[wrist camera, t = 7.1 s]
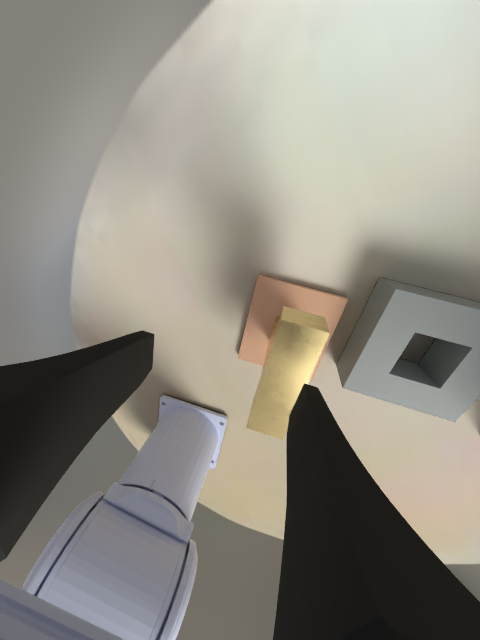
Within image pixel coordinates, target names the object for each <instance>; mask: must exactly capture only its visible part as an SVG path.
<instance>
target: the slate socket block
mask: <svg viewBox="0 0 480 640" xmlns="http://www.w3.org/2000/svg"><path fill="white" fill-rule="evenodd" d="M415 332H416V333H420V334H423V335H427V336H431V337H434V338H436V340H435V341H434V342H433V344H432V345H431V347H430V348H429V350H428V351H427V353H426V354H425V355H424V357H423V358H422V360H421V361H420V363H419V364H418V363H415V362H411V361H408V360H404V359H401V358H399V357H400V356H401V354H402V352H403V351H404V349H405V348H406V346H407V344H408V343H409V341H410V340H411V338H412V337H413V335H414V333H415ZM336 366H337V369H338V373H339V376H340V380H341V384H342V387H343V388H344V389H348V390H351V391H354V392H357V393H361V394H364V395H367V396H370V397H374V398H377V399H380V400H384V401H387V402H390V403H393V404H397V405H400V406H403V407H406V408H410V409H413V410H416V411H419V412H423V413H426V414H429V415H433V416H436V417H439V418H442V419H446V420H449V421H452V422H456V421H457V420H458V419H459V418H460V416H461V415H462V414H463V413H464V412H465V411H466V410H467V409H468V408H469V407H470V405H471V404H472V403H473V402H474V401H475V400H476V399H477V398H478V397H479V396H480V302H477V301H473V300H469V299H465V298H461V297H457V296H453V295H449V294H445V293H441V292H437V291H433V290H428V289H424V288H420V287H416V286H412V285H408V284H404V283H400V282H396V281H392V280H388V279H384V278H380V277H379V279H378V281H377V284H376V286H375V288H374V290H373V292H372V294H371V296H370V298H369V300H368V302H367V304H366V306H365V308H364V310H363V312H362V314H361V316H360V318H359V320H358V322H357V324H356V326H355V328H354V330H353V332H352V334H351V336H350V338H349V340H348V342H347V344H346V346H345V349H344V351H343V353H342V355H341V357H340V359H339V361H338V363H337V365H336Z"/></svg>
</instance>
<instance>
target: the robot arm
mask: <svg viewBox="0 0 480 640" xmlns="http://www.w3.org/2000/svg"><path fill="white" fill-rule="evenodd" d="M153 347H154V334H152V333H148V332H145V331H139V332H135V333H132V334H129V335H125V336H122V337H119V338H116V339H113V340H110V341H107V342H104V343H101V344H97V345H94V346H91V347H87V348H84V349H80V350H76V351H73V352H70V353H66V354H62V355H58V356H53V357H49V358H44V359H40V360H35V361H30V362H24V363H18V364H12V365H6V366H0V562H1V561H2V560H4V559H5V558H7V556H8V555H9V553H10V551H11V550H12V548H13V547H14V545H15V544H16V542H17V541H18V539H19V538H20V536H21V535H22V533H23V532H24V530H25V529H26V527H27V526H28V524H29V523H30V521H31V520H32V518H33V517H34V516H35V514H36V513H37V511H38V510H39V508H40V507H41V505H42V504H43V502H44V501H45V500H46V498H47V497H48V496H49V494H50V493H51V491H52V490H53V489H54V487H55V486H56V484H57V483H58V482H59V480H60V479H61V477H62V476H63V475H64V473H65V472H66V471H67V469H68V468H69V467H70V465H71V464H72V463H73V461H74V460H75V459H76V457H77V456H78V455H79V454H80V452H81V451H82V450H83V448H84V447H85V446H86V445H87V443H88V442H89V441H90V440H91V438H92V437H93V436H94V434H95V433H96V432H97V431H98V430H99V429H100V427H101V426H102V425H103V424H104V423H105V422H106V421H107V420H108V419H109V418H110V417H111V416H112V415H113V414H114V413H115V411H116V410H117V409H118V408H119V407H120V406H121V405H122V404H123V403H124V402H125V401H126V400H127V399H128V398H129V397H130V396H131V394H132V393H133V392H134V391H135V390H136V389H137V388H138V387H139V386H140V384H141V383H142V382H143V380H144V379H145V378H146V376H147V375H148V374H149V372H150V371H151V369H152V364H153ZM227 420H228V419H227V417H226V416H225V415H222V414H219V413H217V412H214V411H211V410H208V409H205V408H202V407H199V406H196V405H193V404H190V403H187V402H184V401H181V400H178V399H175V398H172V397H169V396H166V395H162V396H161V398H160V405H159V422H158V424H157V426H156V427H155V429H154V430H153V432H152V433H151V434H150V436H149V437H148V439H147V440H146V442H145V443H144V445H143V446H142V448H141V449H140V451H139V452H138V454H137V455H136V457H135V458H134V460H133V461H132V463H131V464H130V466H129V467H128V469H127V470H126V472H125V473H124V475H123V476H122V478H121V479H120V481H119V482H118V483H115V482H114V483H113V484H112V485H111V487H110V488H109V490H108V491H107V493H106V494H104V493H102V492H100V491H99V492H96V493H95V494H93V495H91V496H89V497H87V498H85V499H84V500H83V501H82V502H81V503H80V504H79V505H78V506H77V507H76V508H75V509H74V510H73V512H72V513H71V514H70V515H69V516H68V518H67V519H66V520H65V521H64V523H63V524H62V526H61V527H60V528H59V529H58V531H57V532H56V533H55V535H54V536H53V538H52V539H51V540H50V542H49V543H48V545H47V546H46V548H45V549H44V550H43V552H42V554H41V555H40V557H39V558H38V560H37V561H36V563H35V564H34V566H33V568H32V569H31V571H30V573H29V575H28V577H27V578H26V580H25V583H24V585H23V587H22V590H21V589H19V588H17V587H15V586H13V585H11V584H9V583H7V582H5V581H3V580H1V579H0V640H175V639H176V637H177V634H178V632H179V629H180V626H181V623H182V620H183V618H184V615H185V611H186V608H187V605H188V602H189V599H190V595H191V591H192V588H193V584H194V579H195V575H196V570H197V563H198V562H197V561H198V555H197V551H196V543H195V542H194V541H193V540H191V539H189V538H190V535H191V532H192V529H193V526H194V524H193V523H191V522H190V521H191V518H192V515H193V512H194V509H195V506H196V503H197V501H198V498H199V495H200V492H201V489H202V486H203V483H204V481H205V478H206V475H207V472H208V469H209V468H210V469H214V468H215V466H216V462H217V458H218V455H219V451H220V447H221V443H222V439H223V435H224V431H225V427H226V424H227ZM222 422H223V423H222ZM273 640H480V602H479V601H478V600H477V599H476V598H475V597H474V596H473V595H472V593H471V592H469V590H468V589H467V588H466V587H465V586H464V585H463V584H462V583H461V582H460V581H459V580H458V579H457V578H456V577H455V576H454V575H453V574H452V573H451V571H450V570H449V569H448V568H447V567H446V566H445V565H444V564H443V563H442V561H441V560H440V559H439V558H438V557H437V556H436V555H435V554H434V553H433V551H432V550H431V549H430V548H429V547H428V546H427V545H426V544H425V543H424V541H423V540H422V539H421V538H420V537H419V536H418V534H417V533H416V532H415V531H414V530H413V529H412V527H411V526H410V525H409V524H408V523H407V521H406V520H405V519H404V518H403V517H402V515H401V514H400V513H399V512H398V510H397V509H396V508H395V507H394V506H393V504H392V503H391V502H390V501H389V499H388V498H387V497H386V495H385V494H384V493H383V492H382V490H381V489H380V488H379V486H378V485H377V484H376V482H375V481H374V479H373V478H372V477H371V475H370V474H369V473H368V471H367V470H366V468H365V467H364V466H363V464H362V463H361V461H360V460H359V458H358V457H357V455H356V454H355V452H354V450H353V449H352V447H351V446H350V444H349V443H348V441H347V439H346V438H345V436H344V434H343V433H342V431H341V429H340V428H339V426H338V424H337V422H336V421H335V419H334V417H333V415H332V413H331V412H330V410H329V408H328V406H327V404H326V402H325V400H324V398H323V397H322V395H321V393H320V391H319V389H318V388H317V387H314V386H311V385H308V384H305V383H304V385H303V387H302V389H301V391H300V393H299V395H298V398H297V400H296V402H295V404H294V406H293V408H292V411H291V413H290V415H289V422H288V430H287V508H286V520H285V532H284V545H283V555H282V564H281V575H280V584H279V593H278V602H277V611H276V620H275V628H274V636H273Z"/></svg>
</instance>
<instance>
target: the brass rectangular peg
mask: <svg viewBox="0 0 480 640" xmlns="http://www.w3.org/2000/svg"><path fill="white" fill-rule="evenodd" d="M329 334H330V332H329V329H328V325H327V322H326V319H325V317H323V316H319V315H315V314H312V313H308V312H304V311H301V310H297V309H293V308H290V307H286V306H283V308H282V311H281V314H280V316H276V319H275V322H274V325H273V328H272V332H271V335H270V338H269V342H268V346H267V351H266V356H265V360H264V365H263V369H262V374H261V378H260V381H259V384H258V387H257V390H256V393H255V397H254V400H253V403H252V406H251V411H250V415H249V419H248V424H247V428H249V429H252V430H255V431H258V432H261V433H264V434H266V435H269V436H272V437H275V438H278V439H281V440H283V438H284V436H285V434H286V431H287V429H288V422H289V415H290V413H291V411H292V408H293V406H294V404H295V402H296V400H297V398H298V395H299V393H300V391H301V389H302V387H303V385H304V383H305V384H308V382H309V379H310V377H311V375H312V373H313V370H314V368H315V366H316V364H317V361H318V359H319V357H320V355H321V352H322V350H323V348H324V346H325V343H326V341H327V339H328V336H329Z"/></svg>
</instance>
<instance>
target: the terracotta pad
mask: <svg viewBox="0 0 480 640" xmlns="http://www.w3.org/2000/svg"><path fill="white" fill-rule="evenodd" d="M347 302H348V298H347V297H343V296H340V295H336V294H332V293H328V292H324V291H320V290H317V289H313V288H309V287H305V286H301V285H297V284H294V283H290V282H286V281H282V280H278V279H274V278H271V277H267V276H263V275H258V277H257V281H256V285H255V289H254V293H253V298H252V302H251V306H250V310H249V314H248V318H247V322H246V326H245V330H244V334H243V338H242V343H241V347H240V351H239V355H238V358H239V359H242V360H246V361H249V362H252V363H255V364H259V365H262V366H263V365H264V360H265V356H266V351H267V346H268V342H269V338H270V335H271V332H272V328H273V325H274V322H275V319H276V316H280V314H281V311H282V308H283V306H286V307H290V308H293V309H297V310H301V311H304V312H308V313H312V314H315V315H319V316H323V317H325V319H326V322H327V325H328V329H329V332H330V334H329V336H328V339H327V341H326V343H325V346H324V348H323V350H322V352H321V355H320V357H319V359H318V361H317V364H316V366H315V368H314V370H313V373H312V375H311V377H310V379H309V380H311V381H312V380H313V377H314V375H315V373H316V371H317V368H318V366H319V364H320V362H321V360H322V357H323V355H324V353H325V351H326V348H327V346H328V344H329V342H330V339H331V337H332V335H333V333H334V331H335V328H336V326H337V324H338V322H339V319H340V317H341V315H342V313H343V311H344V308H345V306H346V304H347Z"/></svg>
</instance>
